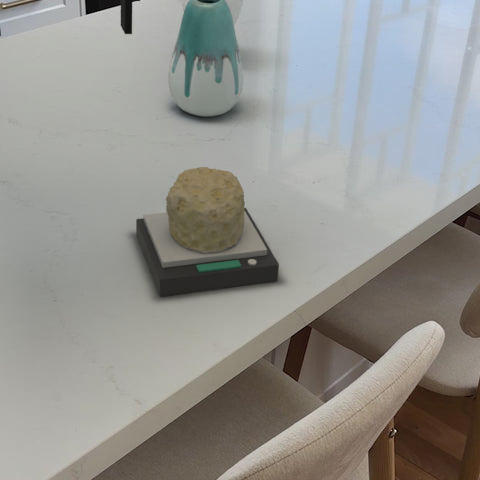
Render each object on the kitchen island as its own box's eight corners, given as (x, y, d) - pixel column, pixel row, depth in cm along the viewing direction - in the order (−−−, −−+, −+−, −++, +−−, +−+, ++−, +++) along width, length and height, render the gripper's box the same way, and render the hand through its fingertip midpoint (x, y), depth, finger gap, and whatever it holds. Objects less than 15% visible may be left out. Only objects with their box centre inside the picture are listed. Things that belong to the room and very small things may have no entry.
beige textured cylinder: (244, 246, 110) (232, 166, 109) (258, 246, 100) (245, 158, 99) (169, 257, 108) (157, 176, 107) (176, 258, 98) (162, 168, 97)
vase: (227, 129, 135) (232, 13, 125) (156, 115, 137) (156, 0, 127) (250, 101, 144) (258, -9, 134) (184, 87, 147) (186, -22, 136)
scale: (159, 297, 99) (159, 273, 97) (136, 235, 109) (136, 213, 107) (277, 281, 104) (279, 258, 102) (244, 223, 113) (246, 201, 112)
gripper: (-89, -194, 76) (-61, 45, 88) (195, -176, 84) (185, 41, 96) (-89, -207, 82) (-63, 19, 94) (177, -190, 89) (169, 17, 101)
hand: (62, 30), depth 95 cm, fingers open, 13 cm apart
